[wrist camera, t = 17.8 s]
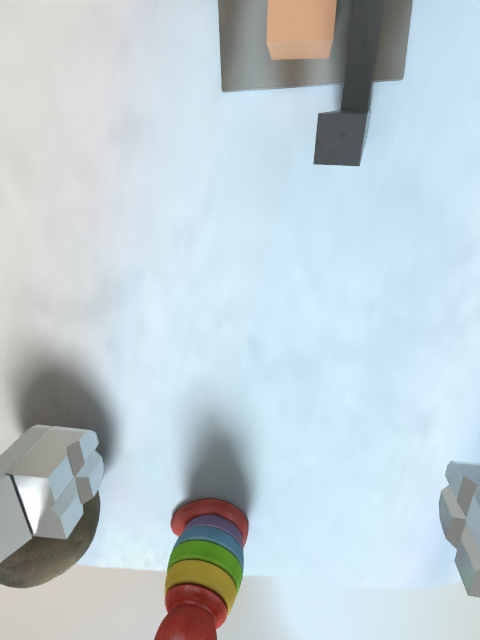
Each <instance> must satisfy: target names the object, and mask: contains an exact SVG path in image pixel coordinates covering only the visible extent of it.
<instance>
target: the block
mask: <svg viewBox="0 0 480 640" xmlns="http://www.w3.org/2000/svg"><path fill="white" fill-rule="evenodd" d="M336 4H337V0H268V12H267V46H268V49H269V52H270V56H271V59H272V60H282V59H317V58H329V56H330V52H331V47H332V43H333V37H334V26H335V15H336Z"/></svg>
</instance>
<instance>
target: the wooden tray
mask: <svg viewBox="0 0 480 640" xmlns="http://www.w3.org/2000/svg"><path fill="white" fill-rule="evenodd" d="M353 8H354V0H337V4H336V15H335V26H334V37H333V43H332V47H331V52H330V56H329V58H317V59H282V60H272V59H271V56H270V52H269V49H268V46H267V12H268V0H218V9H219V32H220V55H221V78H222V91H223V92H237V91H251V90H266V89H280V88H295V87H309V86H323V85H338V84H344V82H345V74H346V66H347V58H348V50H349V41H350V33H351V25H352V17H353ZM411 9H412V0H385V5H384V11H383V17H382V24H381V30H380V37H379V43H378V50H377V56H376V63H375V69H374V76H373V82H381V81H396V80H402V79H403V76H404V68H405V59H406V51H407V43H408V34H409V26H410V17H411Z"/></svg>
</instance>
